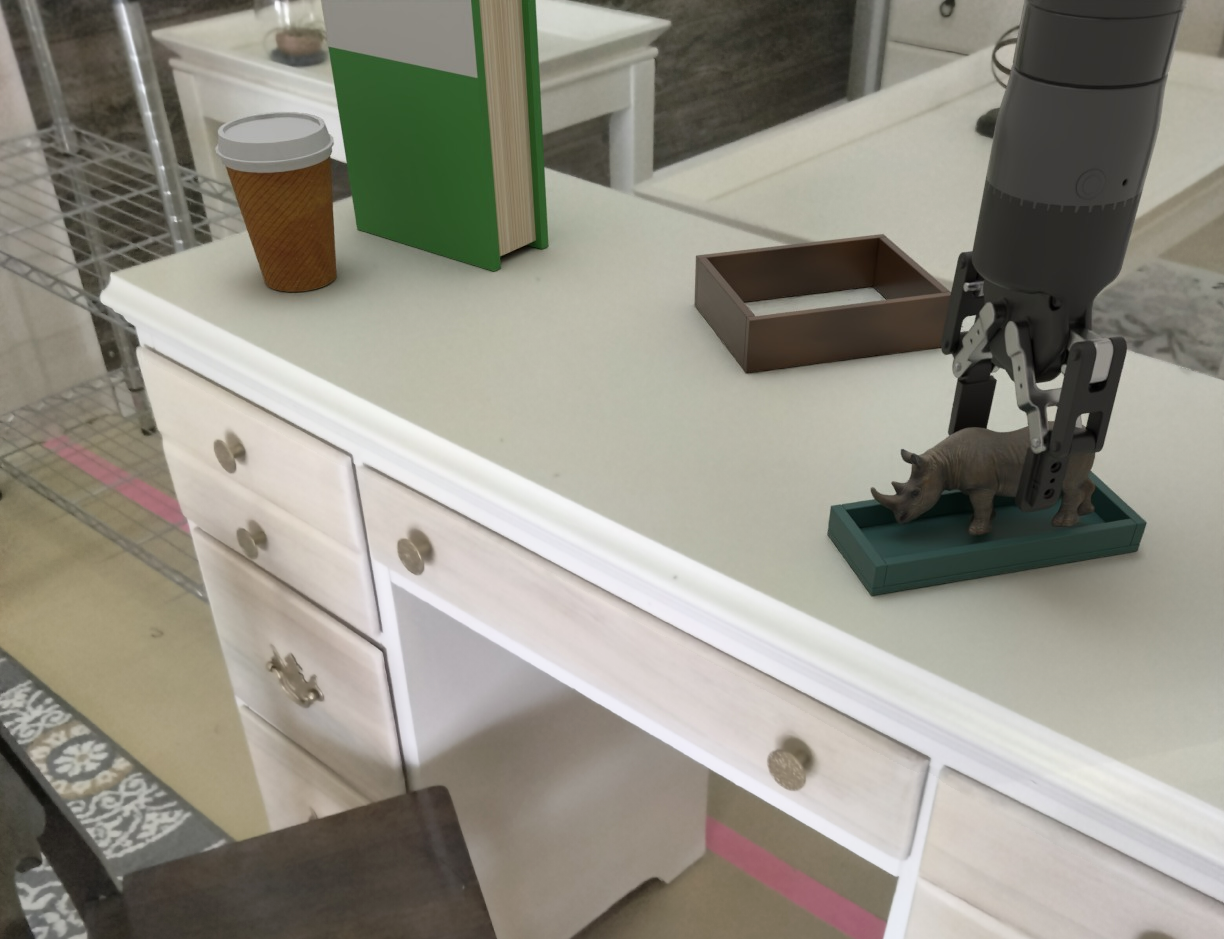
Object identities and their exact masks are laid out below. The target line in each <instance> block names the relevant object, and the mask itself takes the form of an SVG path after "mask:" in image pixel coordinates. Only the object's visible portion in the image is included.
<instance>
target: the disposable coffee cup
mask: <svg viewBox="0 0 1224 939" xmlns="http://www.w3.org/2000/svg"><path fill="white" fill-rule="evenodd" d="M334 145H335V140H334V137H333V136H332V135H331V133H329V130H328V128H327V125H326V123H325V120H324V119H323V118H322V117H320V116H317V115H315V114H310V113H307V112H306V113H305V112H301V111H300V112H298V111H269V112H262V113H255V114H249V115H244V116H242V117H241V116H240V117H237V118H235V119H232V120H229V121H226V122H225V123H223V124H221V126H219V127H218V130H217V144H216V146H215V153H216V156H217V157H218V158H220V161H221V164H222V165H224V166H225V169H226V172H227V176H228V178H229V180H230V181H229V182H230V184H231V186H232V189H233V193H234V196H235V199H236V201H237V204H238V207H239V210H240V213H241V216H242V219H243V223H244V225H245V228H246V231H247V234H248V237H249V241H250V243H251V246H252V248H253V252H254V254H255V257H256V260H257V263H258V266H259V269H260V272H261V275H262V278H263V281H264V284H265V286H266V287H268V288H270V289H271V290H276V291H280V292H281V291H282V292H287V293H289V292H290V293H291V292H308V291H313V290H318V289H320V288H322V287H326V286H328V285H330V284H331V283H332V282H334V281H335V280H336V278H337V276H338V273H337V272H338V271H337V256H336V237H335V220H334V218H335V217H334V201H333V199H334V198H333V196H334V195H333V183H332V182H333V180H332V161H331V155H332V154H333V147H334Z"/></svg>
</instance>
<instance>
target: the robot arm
mask: <svg viewBox="0 0 1224 939" xmlns="http://www.w3.org/2000/svg"><path fill="white" fill-rule="evenodd" d="M1188 2H1189V0H1024V1H1023V5H1022V10H1021V15H1020V22H1019V26H1018V32H1017V36H1016V37H1017V38H1016V43H1015V48H1014V52H1013V53H1014V54H1013V58H1012V65H1011V66H1010V72H1009V76H1008V80H1007V84H1006V87H1005V90H1004V93H1003V96H1002V99H1001V103H1000V106H999V110H998V113H997V117H996V120H995V126H994V131H993V138H992V142H991V148H990V153H989V159H988V164H987V169H986V173H985V174H986V175H985V180H984V186H983V191H982V198H981V202H980V206H979V207H980V208H979V213H978V217H977V224H976V229H975V235H974V239H973V245H972V250H971V251H962V252H961V253H959V255H958V257H957V262H956V266H955V272H954V276H953V281H952V286H951V291H950V292H951V295H950V300H949V305H948V310H947V315H946V319H945V324H944V329H943V334H942V339H941V347H940V349H941V353H942V354H943V355H944V356H949V355H951V356H952V357H953V360H952V364H951V365H952V366H951V370H952V374H953V376H954V377H955V378H956V379H957V380H956V385H955V390H954V396H953V401H952V407H951V412H950V418H949V423H948V428H947V434H948V436H950V435H952V434H954V433H956V432H958V431H960V430H962V429H965V428H971V427H978V428H986V429H988V424H989V420H990V416H991V410H992V405H993V401H994V397H995V393H996V392H995V391H996V388H997V382H998V380H997V379H996V378H995V377H994V376H993V375H991V374H995V373H997V372H999V370H1000V369H1002V370H1004V371H1005V372H1006V374H1007V375H1008V377H1009V378H1010V380H1011V381H1012V382H1013V384H1014V391H1015V398H1016V405H1017V407H1018V409H1019V410H1020V411H1022V412H1024V413H1025V415H1026V419H1027V426H1028V429H1029V438H1030V446H1031V447H1028V448H1027V453H1026V457H1025V461H1024V465H1023V469H1022V473H1021V477H1020V482H1019V486H1018V490H1017V494H1016V498H1015V504H1016V505H1017V506H1018V507H1019V509H1020V510H1021V511H1022V512H1024V513H1027V512H1033V511H1039V510H1046V509H1049V508H1051V507H1052V506H1054V504H1056V502H1057V500H1058V499H1059V497H1060V493H1061V488H1062V485H1063V481H1064V478H1065V474H1066V471H1067V467H1068V463H1069V460H1070V457H1071V456H1076V455H1083V454H1089V453H1095V454H1097V453H1100V452H1101V451H1102V450H1103V448H1104V446H1105V443H1106V438H1107V434H1108V429H1109V426H1110V422H1111V417H1112V414H1113V410H1114V405H1115V402H1116V398H1117V394H1118V388H1119V385H1120V381H1121V377H1122V372H1123V368H1124V365H1125V360H1126V357H1127V352H1128V351H1127V350H1128V344H1127V341H1126V339H1125V337H1124V336H1121V335H1118V336H1111V337H1104V338H1103V337H1101V336H1100V335H1099V334H1097V333H1095V332H1093V305H1094V302H1095V299H1096V298H1097V297H1098V295H1100V293H1101V292H1102V291H1103V290H1104V289H1105V288H1106V287H1107V286H1109V285H1111V284H1112V283H1113V282H1114V281H1115V280H1116V279H1117V278H1118V277H1119V276H1120V273H1121V272H1122V269H1123V265H1124V261H1125V258H1126V254H1127V250H1128V247H1129V243H1130V239H1131V236H1132V233H1133V232H1132V231H1133V228H1134V224H1135V220H1136V218H1137V213H1138V209H1139V205H1140V202H1141V199H1142V195H1143V191H1144V188H1145V187H1144V186H1145V183H1146V181H1147V180H1146V179H1147V176H1148V173H1149V168H1150V166H1151V161H1152V157H1153V153H1154V150H1155V146H1156V143H1157V139H1158V135H1159V130H1160V127H1161V120H1162V113H1163V106H1164V98H1165V93H1166V92H1165V91H1166V86H1167V82H1168V76H1169V72H1170V68H1171V65H1172V62H1173V58H1174V55H1175V50H1176V46H1177V43H1178V39H1179V35H1180V31H1181V28H1182V23H1183V22H1184V16H1185V13H1186V10H1187V5H1188ZM974 316H975V317H974ZM968 317H974V321H973V324H972V326H971V327H970V328H969V329H968V330H965V331H962V328H963V322H964V320H965V319H966V318H968ZM1061 374H1062V375H1063V379H1062V384H1061V387H1057V388H1051V389H1041V388H1040V387H1038V385H1037V384H1042V383H1048V382H1052V381H1054V380H1056V379H1057V378H1058V377H1059V376H1060V375H1061ZM1051 407H1056V412H1055V416H1054V420H1053V421H1054V426H1053V428H1049V427H1048V421H1049V419H1048V411H1047V410H1048V408H1051ZM1084 414H1088V415H1087V416H1088V417H1087V421H1086V425H1085V427H1086V429H1083V428H1082V425H1083V420H1082V415H1084Z"/></svg>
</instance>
